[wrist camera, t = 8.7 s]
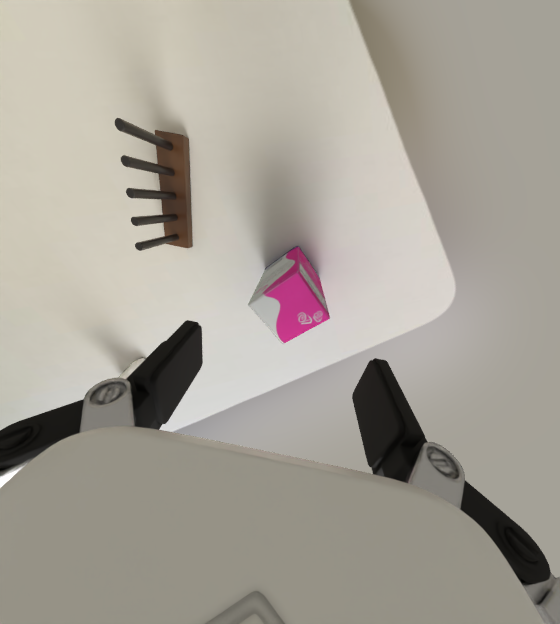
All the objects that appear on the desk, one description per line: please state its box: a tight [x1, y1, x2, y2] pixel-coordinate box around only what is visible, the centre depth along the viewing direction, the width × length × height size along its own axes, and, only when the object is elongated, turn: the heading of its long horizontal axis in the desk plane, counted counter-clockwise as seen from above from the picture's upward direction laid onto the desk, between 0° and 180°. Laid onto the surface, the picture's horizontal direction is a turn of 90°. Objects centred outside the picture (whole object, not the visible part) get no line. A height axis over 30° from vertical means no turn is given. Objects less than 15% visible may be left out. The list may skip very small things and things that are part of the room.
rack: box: [115, 118, 192, 251], centre depth 22 cm, size 12×3×8 cm, turn 170°
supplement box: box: [248, 246, 330, 344], centre depth 24 cm, size 6×6×12 cm
